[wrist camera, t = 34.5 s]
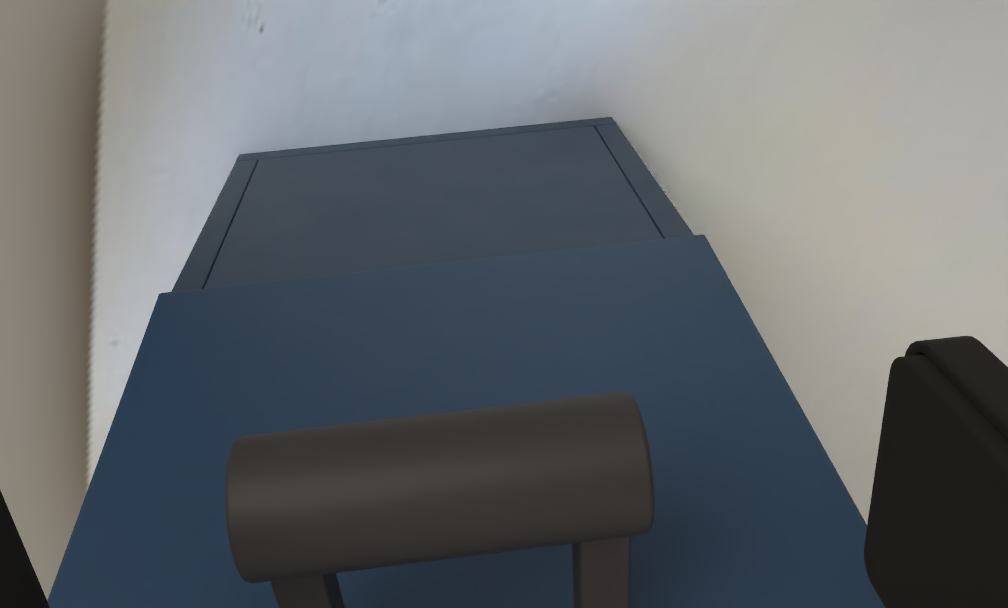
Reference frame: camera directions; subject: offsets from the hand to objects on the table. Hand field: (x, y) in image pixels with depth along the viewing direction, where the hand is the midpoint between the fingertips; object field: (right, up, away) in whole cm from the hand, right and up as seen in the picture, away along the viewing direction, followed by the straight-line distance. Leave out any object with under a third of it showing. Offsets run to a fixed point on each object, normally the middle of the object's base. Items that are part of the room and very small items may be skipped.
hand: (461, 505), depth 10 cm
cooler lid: (-1, -1, +8) cm, 8 cm away
